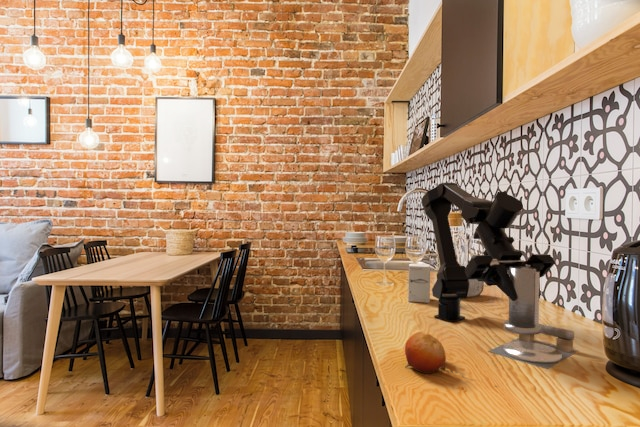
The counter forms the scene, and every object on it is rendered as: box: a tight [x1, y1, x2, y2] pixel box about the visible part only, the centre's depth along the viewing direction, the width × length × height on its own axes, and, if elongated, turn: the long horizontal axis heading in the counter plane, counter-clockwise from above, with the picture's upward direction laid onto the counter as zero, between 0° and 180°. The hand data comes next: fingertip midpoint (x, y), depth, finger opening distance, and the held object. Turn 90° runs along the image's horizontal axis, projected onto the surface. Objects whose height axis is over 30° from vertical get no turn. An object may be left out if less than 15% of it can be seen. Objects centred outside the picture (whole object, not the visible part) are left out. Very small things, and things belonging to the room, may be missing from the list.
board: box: [487, 337, 579, 370], centre depth 84 cm, size 16×12×1 cm
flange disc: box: [502, 340, 563, 364], centre depth 82 cm, size 11×11×1 cm
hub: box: [502, 266, 542, 336], centre depth 82 cm, size 7×7×13 cm
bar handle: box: [518, 323, 575, 353], centre depth 88 cm, size 11×2×4 cm, turn 38°
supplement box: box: [407, 263, 431, 304], centre depth 137 cm, size 7×7×13 cm
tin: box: [466, 279, 485, 299], centre depth 142 cm, size 15×3×8 cm, turn 118°
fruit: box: [404, 331, 447, 375], centre depth 78 cm, size 8×8×8 cm
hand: (526, 299), depth 80 cm, fingers closed on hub, 5 cm apart
